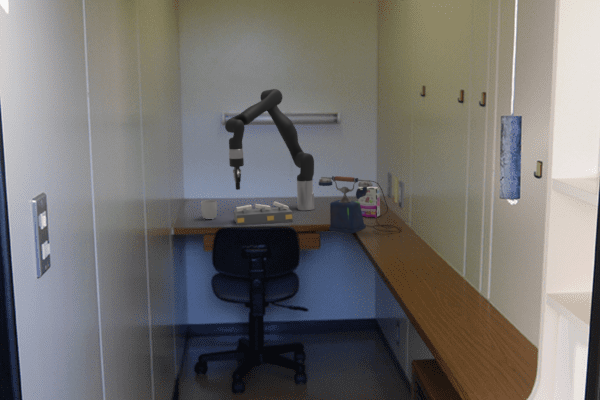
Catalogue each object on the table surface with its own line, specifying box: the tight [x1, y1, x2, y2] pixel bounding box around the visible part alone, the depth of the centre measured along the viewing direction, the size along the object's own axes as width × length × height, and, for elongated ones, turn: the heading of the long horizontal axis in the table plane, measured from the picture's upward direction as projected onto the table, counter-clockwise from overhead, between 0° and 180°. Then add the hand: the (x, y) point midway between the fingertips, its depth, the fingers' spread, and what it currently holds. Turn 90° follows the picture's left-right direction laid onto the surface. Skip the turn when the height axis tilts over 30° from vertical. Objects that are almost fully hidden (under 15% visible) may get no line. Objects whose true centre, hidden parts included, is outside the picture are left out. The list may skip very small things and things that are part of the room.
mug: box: [200, 199, 218, 219], centre depth 357 cm, size 13×9×10 cm
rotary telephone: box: [318, 175, 401, 234], centre depth 321 cm, size 41×22×27 cm, turn 58°
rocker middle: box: [254, 203, 272, 210], centre depth 345 cm, size 8×4×2 cm, turn 103°
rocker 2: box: [272, 200, 290, 210], centre depth 348 cm, size 8×4×2 cm, turn 103°
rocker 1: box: [235, 204, 253, 212], centre depth 343 cm, size 8×4×2 cm, turn 102°
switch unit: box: [233, 206, 293, 226], centre depth 346 cm, size 30×14×8 cm, turn 102°
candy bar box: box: [357, 186, 381, 219], centre depth 350 cm, size 11×5×16 cm, turn 62°
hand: (237, 189), depth 341 cm, fingers closed
